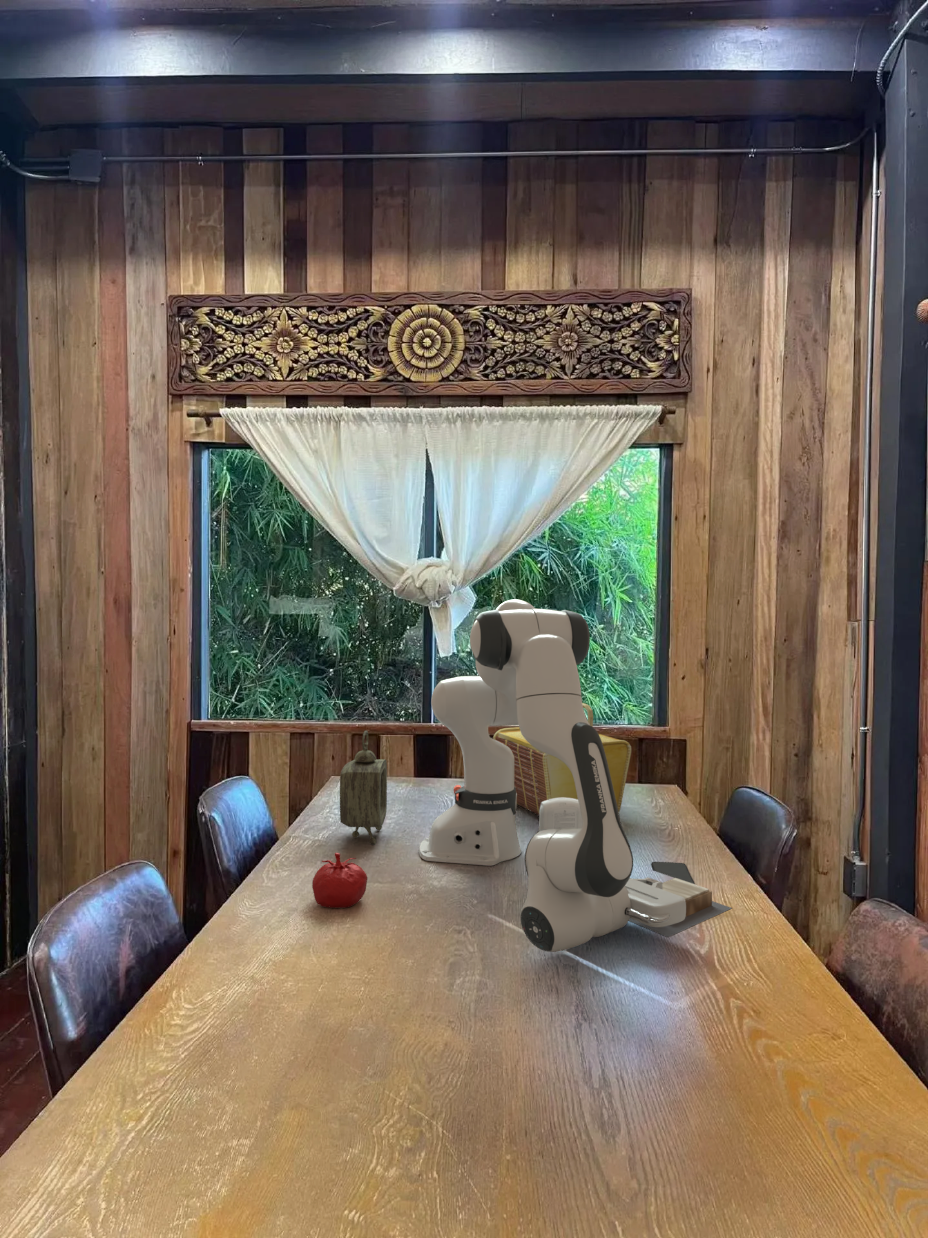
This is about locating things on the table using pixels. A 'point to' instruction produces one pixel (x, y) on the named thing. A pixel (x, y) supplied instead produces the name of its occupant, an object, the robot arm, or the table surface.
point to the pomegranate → (339, 884)
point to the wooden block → (689, 894)
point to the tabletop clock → (364, 791)
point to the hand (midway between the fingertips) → (655, 884)
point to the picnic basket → (557, 768)
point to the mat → (687, 920)
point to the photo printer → (560, 814)
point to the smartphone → (673, 870)
